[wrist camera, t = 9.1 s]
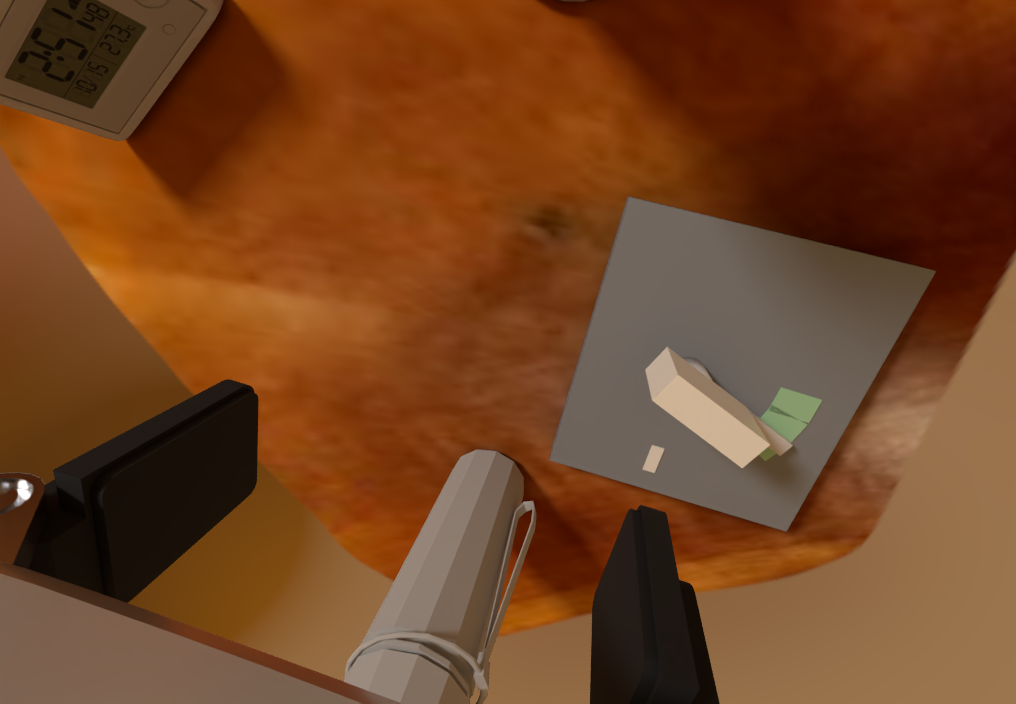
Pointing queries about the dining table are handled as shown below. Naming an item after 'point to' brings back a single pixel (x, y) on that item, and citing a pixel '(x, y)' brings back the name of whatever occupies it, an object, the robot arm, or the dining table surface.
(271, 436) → the dining table surface
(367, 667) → the water bottle
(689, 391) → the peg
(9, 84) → the digital clock
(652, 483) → the grey square board
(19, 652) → the robot arm
